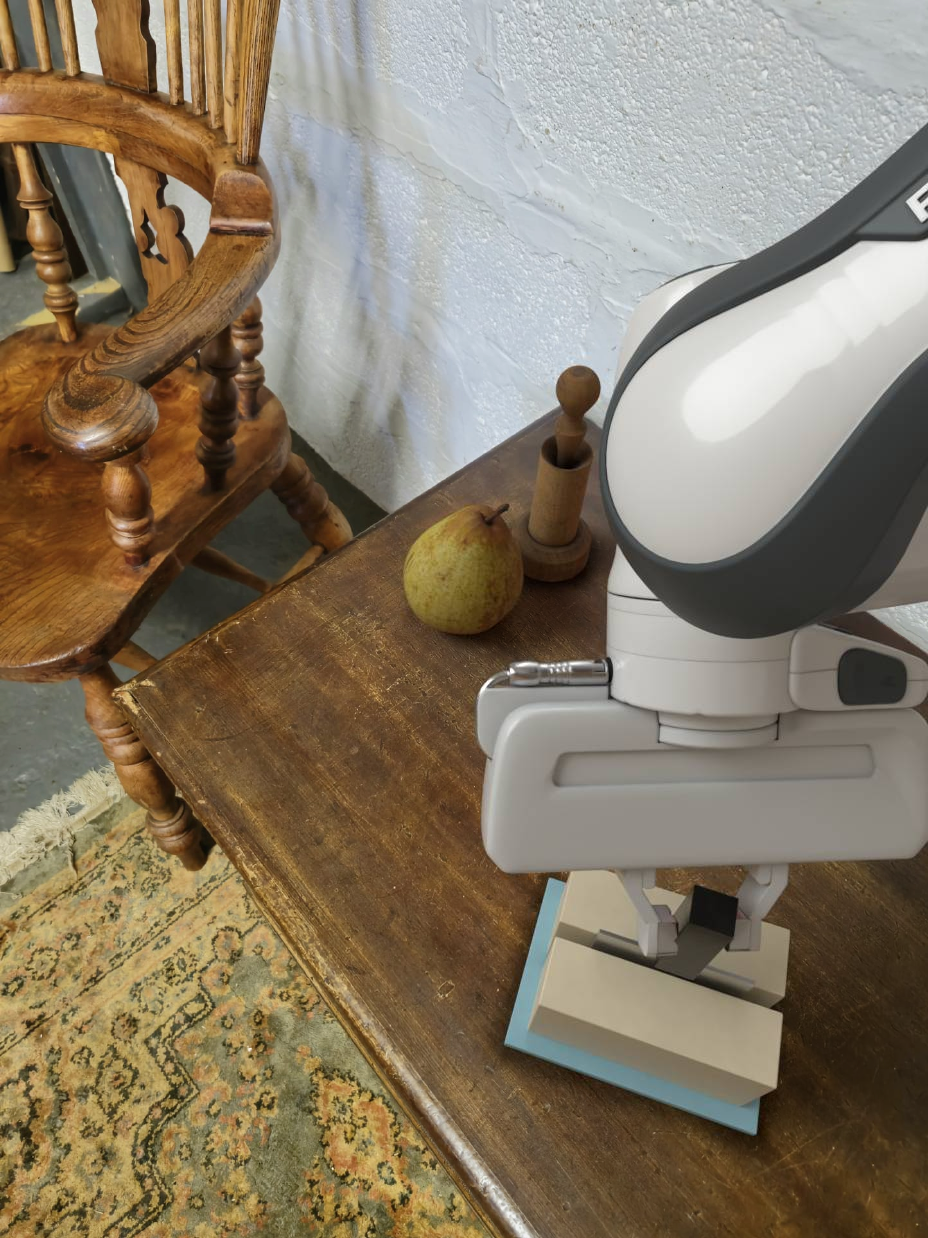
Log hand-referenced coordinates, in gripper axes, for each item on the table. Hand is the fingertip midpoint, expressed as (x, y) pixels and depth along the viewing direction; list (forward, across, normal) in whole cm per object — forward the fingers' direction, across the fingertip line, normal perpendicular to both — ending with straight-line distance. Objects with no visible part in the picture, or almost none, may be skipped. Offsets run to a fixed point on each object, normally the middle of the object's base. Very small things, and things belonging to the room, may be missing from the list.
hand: (697, 948), depth 40 cm
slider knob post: (+6, 0, +7) cm, 10 cm away
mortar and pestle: (-17, -2, +34) cm, 38 cm away
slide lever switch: (+8, 0, +9) cm, 12 cm away
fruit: (-13, -9, +30) cm, 34 cm away
